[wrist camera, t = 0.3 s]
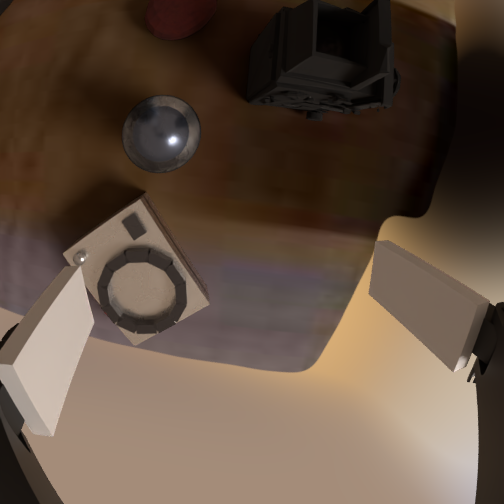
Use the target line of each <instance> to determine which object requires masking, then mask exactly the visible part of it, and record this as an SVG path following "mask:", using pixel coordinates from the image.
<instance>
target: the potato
mask: <svg viewBox="0 0 504 504" xmlns="http://www.w3.org/2000/svg"><path fill="white" fill-rule="evenodd" d="M216 9H217V0H149V3H148V7H147V11H146V15H145V22H146V26H147V28H148V30H149V31H150V32H151V33H152V34H153V35H154V36H155V37H158V38H160V39H162V40H178V39H183V38H185V37H188V36H190V35H192V34H194V33H196V32H197V31H199V30H200V29H201V28H202V27H204V26H205V25H206V23H207V22H208V21H209V20H210V19H211V18H212V16H213V15H214V13H215V11H216Z"/></svg>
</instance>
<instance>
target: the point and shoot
mask: <svg viewBox="0 0 504 504" xmlns="http://www.w3.org/2000/svg"><path fill="white" fill-rule="evenodd" d="M63 255H64V257H65V258H66V260H67V261H68V262H69V264H70V265H71V266H78V265H81V270H82V274H83V279H84V284H85V286H86V287H87V289H88V290H89V291H90V293H91V294H92V295H93V296H94V298H95V299H96V300H97V302H98V303H99V304H100V306H101V308H102V309H103V311H104V312H105V314H106V315H107V316H108V317H109V318H110V319H111V320H112V322H113V323H114V324H116V325H117V326H118V327H119V329H120V330H121V331H122V332H123V333H124V334H125V336H126V337H127V338H128V339H129V340H130V341H131V342H132V344H133V345H134V346H135V345H137V344H139V343H141V342H143V341H145V340H146V339H148V338H150V337H152V336H154V335H155V334H157V333H160V332H162V331H164V330H165V329H167V328H169V327H171V326H173V325H175V324H176V323H177V322H179V321H181V320H183V319H184V318H186V317H188V316H190V315H192V314H193V313H195V312H197V311H199V310H200V309H202V308H204V307H206V306H208V305H209V304H210V302H209V296H208V290H207V285H206V284H205V282H204V281H203V279H202V278H201V276H200V275H199V273H198V272H197V270H196V269H195V267H194V266H193V264H192V263H191V261H190V260H189V258H188V257H187V255H186V254H185V252H184V251H183V249H182V247H181V246H180V244H179V243H178V241H177V240H176V238H175V237H174V235H173V234H172V232H171V230H170V229H169V227H168V226H167V224H166V223H165V221H164V219H163V218H162V216H161V215H160V213H159V212H158V210H157V208H156V207H155V205H154V203H153V202H152V200H151V199H150V197H149V195H148V194H147V192H146V193H144V194H142V195H141V196H139V197H138V198H136V199H135V200H133V201H132V202H130V203H129V204H127V205H126V206H124V207H123V208H121V209H120V210H118V211H117V212H115V213H114V214H112V215H111V216H110V217H108V218H107V219H105V220H104V221H102V222H101V223H100V224H98V225H97V226H95V227H94V228H93V229H91V230H90V231H88V232H87V233H86V234H84V235H83V236H82V237H80V238H79V239H78V240H76V241H75V242H74V243H73V244H72V245H71V246H70V247H69V248H68V249H67V250H66V251H65V252H64V253H63Z"/></svg>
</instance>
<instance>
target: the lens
mask: <svg viewBox="0 0 504 504" xmlns="http://www.w3.org/2000/svg"><path fill="white" fill-rule="evenodd" d="M200 138H201V126H200V121H199V118H198V116H197V114H196V112H195V111H194V109H193V108H192V107H191V106H190V105H189V104H188V103H187V102H185V101H184V100H182V99H180V98H178V97H174V96H170V95H157V96H153V97H150V98H147V99H145V100H143V101H141V102H140V103H139V104H137V105H136V106H135V107H134V108H133V109H132V110H131V111H130V113H129V114H128V116H127V118H126V120H125V122H124V125H123V129H122V143H123V147H124V150H125V152H126V154H127V156H128V157H129V159H130V160H131V161H132V162H133V163H134V164H135V165H136V166H138V167H139V168H141V169H143V170H145V171H148V172H152V173H166V172H170V171H173V170H176V169H178V168H180V167H181V166H183V165H184V164H186V163H187V162H188V161H189V160H190V159H191V158H192V156H193V155H194V153H195V152H196V150H197V148H198V145H199V142H200Z"/></svg>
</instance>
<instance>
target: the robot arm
mask: <svg viewBox="0 0 504 504" xmlns="http://www.w3.org/2000/svg"><path fill="white" fill-rule="evenodd" d="M12 1H13V0H0V15H1V14H2V13H3V12H4V11H5V9H6V8H7V7H8V6H9V5H10V3H11V2H12ZM369 295H370V296H371V297H373V298H374V299H375V300H376V301H377V302H378V303H379V304H380V305H382V306H383V307H384V308H385V309H386V310H387V311H388V312H389V313H390V314H392V315H393V316H394V317H395V318H396V319H397V320H398V321H399V322H400V323H401V324H403V325H404V326H405V327H406V328H407V329H408V330H409V331H410V332H411V333H412V334H414V336H416V337H417V338H418V339H419V340H420V341H421V342H422V343H423V344H424V345H425V346H426V347H427V348H428V349H429V350H430V351H431V352H433V353H434V354H435V355H436V356H437V357H438V358H439V359H440V360H441V361H442V362H443V363H444V364H445V365H446V366H447V367H448V368H449V369H450V370H451V371H453V372H455V371H458V370H460V369H462V368H464V367H466V366H467V364H468V361H469V359H470V356H471V354H472V353H473V354H474V355H476V356H477V358H476V361H475V363H474V365H473V368H472V370H471V372H470V374H469V377H468V379H467V382H470V380H471V378H472V377H473V376H475V379H474V381H473V383H476V391H477V405H478V428H479V429H478V430H479V454H478V455H479V456H478V478H477V490H476V500H475V504H504V302H500V303H497V304H496V306H494V305H492V304H490V303H489V302H490V301H489V300H488V299H486V298H485V297H483V296H482V295H480V294H478V293H477V292H475V291H474V290H472V289H470V288H469V287H467V286H465V285H464V284H462V283H461V282H459V281H458V280H456V279H454V278H453V277H451V276H449V275H448V274H446V273H444V272H443V271H441V270H439V269H438V268H436V267H434V266H432V265H431V264H429V263H427V262H426V261H424V260H422V259H421V258H419V257H417V256H415V255H414V254H412V253H410V252H408V251H406V250H405V249H403V248H401V247H399V246H397V245H396V244H394V243H392V242H390V241H388V240H387V241H375V250H374V258H373V267H372V274H371V281H370V288H369ZM93 324H94V319H93V316H92V312H91V308H90V304H89V300H88V296H87V292H86V288H85V284H84V279H83V274H82V270H81V265H78V266H66V267H64V268H63V269H62V271H61V272H60V273H59V274H58V275H57V277H56V278H55V279H54V280H53V281H52V282H51V284H50V285H49V286H48V287H47V289H46V290H45V291H44V292H43V293H42V295H41V296H40V297H39V298H38V300H37V301H36V302H35V304H34V305H33V306H32V307H31V309H30V310H29V311H28V313H27V314H26V315H25V317H24V318H23V319H22V321H21V322H20V323H17V324H16V325H15V326H14V327H12V328H11V329H10V330H8V331H7V333H6V334H5V335H4V337H3V338H2V341H0V504H64V503H63V502H62V501H61V499H60V497H59V496H58V495H57V493H56V491H55V489H54V488H53V486H52V485H51V483H50V481H49V480H48V478H47V476H46V475H45V473H44V471H43V469H42V467H41V466H40V464H39V462H38V460H37V458H36V456H35V454H34V453H33V451H32V449H31V447H30V445H29V443H28V441H27V439H26V437H25V435H24V434H23V432H22V431H21V429H22V426H23V424H24V421H25V423H26V424H27V426H28V427H29V429H30V430H31V431H32V433H33V434H37V435H44V436H52V437H53V435H54V432H55V428H56V425H57V422H58V419H59V415H60V413H61V409H62V406H63V403H64V400H65V397H66V394H67V391H68V389H69V386H70V383H71V380H72V377H73V375H74V372H75V369H76V367H77V364H78V361H79V359H80V356H81V354H82V351H83V349H84V346H85V344H86V341H87V339H88V336H89V334H90V332H91V329H92V327H93Z"/></svg>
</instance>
